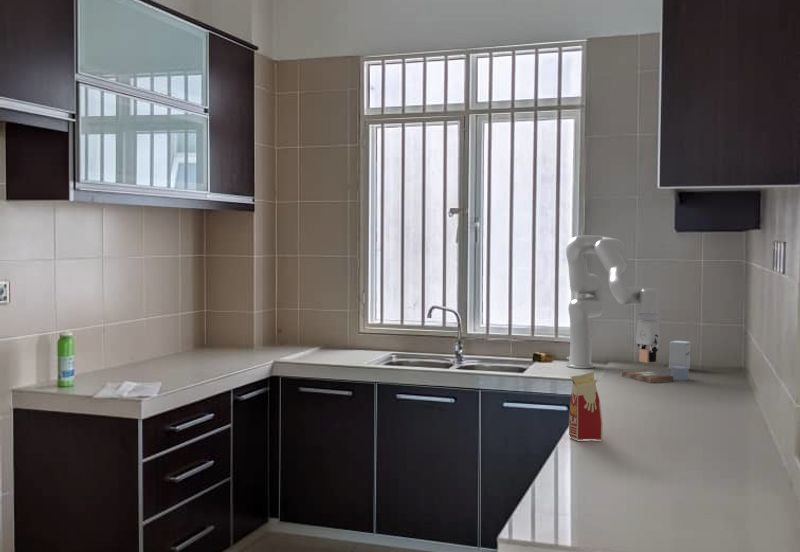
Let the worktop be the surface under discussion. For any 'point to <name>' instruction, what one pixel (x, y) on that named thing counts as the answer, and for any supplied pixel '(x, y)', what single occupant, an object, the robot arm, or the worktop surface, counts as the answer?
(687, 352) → the supplement box
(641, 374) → the board
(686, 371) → the slate block
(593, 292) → the robot arm
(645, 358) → the terracotta block
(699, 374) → the worktop surface
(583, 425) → the milk carton
